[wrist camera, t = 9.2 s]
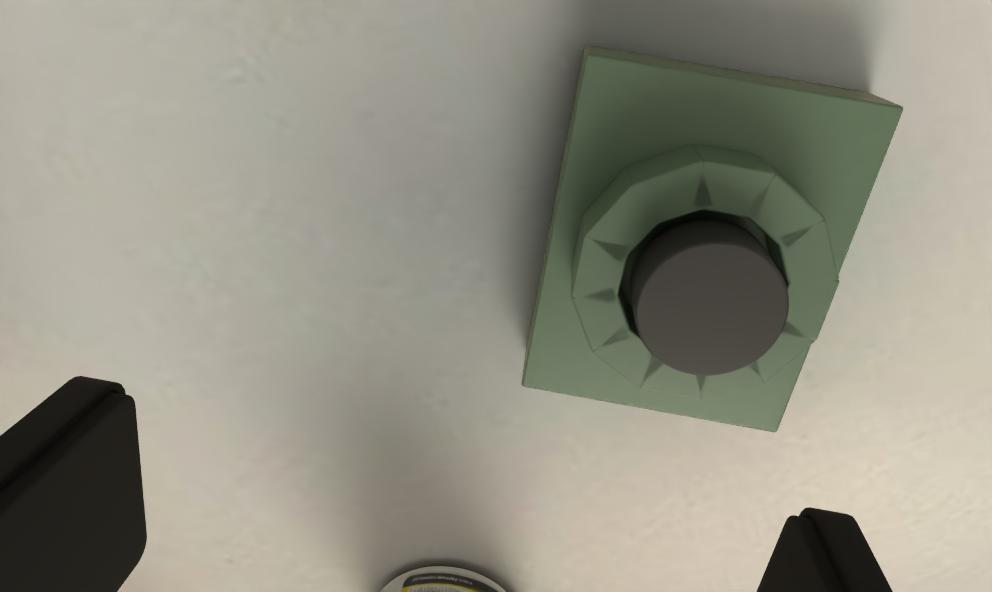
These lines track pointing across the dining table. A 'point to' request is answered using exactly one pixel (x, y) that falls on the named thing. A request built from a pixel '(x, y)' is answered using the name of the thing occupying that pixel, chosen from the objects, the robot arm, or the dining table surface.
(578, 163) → the switch block
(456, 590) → the pill bottle
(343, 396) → the dining table surface
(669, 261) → the button
